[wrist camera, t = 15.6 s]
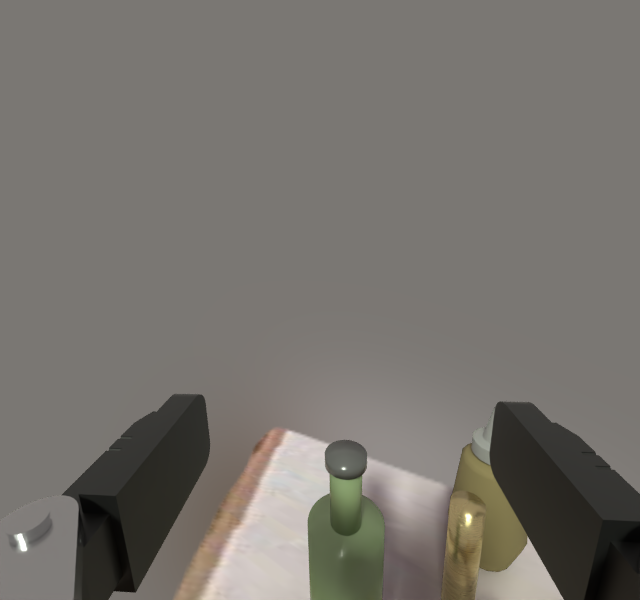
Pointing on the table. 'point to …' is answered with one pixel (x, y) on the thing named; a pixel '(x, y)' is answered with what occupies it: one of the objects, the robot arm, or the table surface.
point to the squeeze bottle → (490, 503)
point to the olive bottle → (345, 532)
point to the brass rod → (463, 546)
